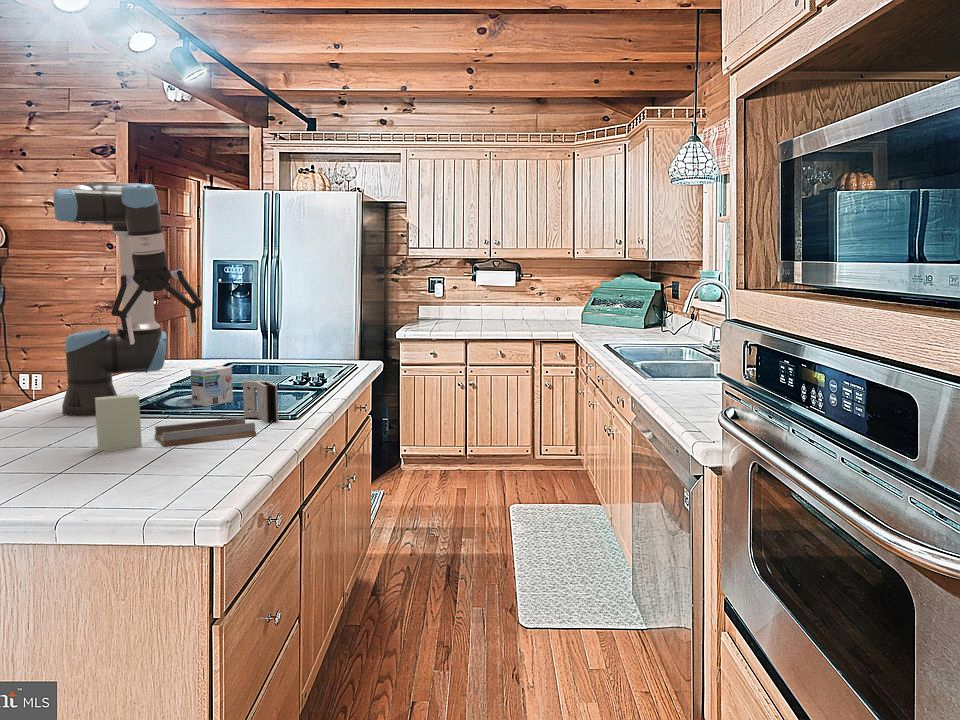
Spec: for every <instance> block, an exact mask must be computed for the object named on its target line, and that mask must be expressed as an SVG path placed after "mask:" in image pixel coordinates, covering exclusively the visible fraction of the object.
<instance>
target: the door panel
mask: <svg viewBox="0 0 960 720" xmlns="http://www.w3.org/2000/svg"><path fill="white" fill-rule="evenodd" d="M95 407H96V415H95V420H96V423H95V424H96V436H97V449H98V448H99V449H100V450H99V449H98V450H99V451H100V452H104V451H103V450H106V451H113V450H114V449H115V450H122V449H132V448H139V447H142V446H143V445H142V444H143V443H142V426H141V407H140V396H139V395H138V394H135V393H133V394H132V393H131V394H121V395H117V396H108V397H96V398H95ZM115 450H114V451H115Z"/></svg>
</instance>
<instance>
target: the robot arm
mask: <svg viewBox="0 0 960 720" xmlns="http://www.w3.org/2000/svg"><path fill="white" fill-rule="evenodd" d="M52 194H53V210H54V218H55V219H56V220H57V221H58V222H68V223H85V224H93V225H99V226H100V225H102V226H103V225H104V226H111V229H112V231H111V232H112V233H113V234H114V235H116V236H117V238H118V248H119V249H118V250H119V270H120V287H119V289H118V292H117V296H116V299H115V301H114V305H113V307H112V310H111V316H113V317H119V318H120V320H121V321H120V322H121V323H120V324H119V325H118V326H117V332H116V333H115V332H114V333H111V330H110V329H109V328H97V329H90V330H83V331H78V332H75V333H71V334H69V335H67V337H66V338H65V350H64V353H65V357H66V359H65V360H66V378H67V386H66V387H67V388H66V391H65V395H64V397H63V398H64V399H63V402H62V405H61V407H62V408H61V409H62V410H61V411H62V414H64V415H65V416H73V417H74V416H75V417H77V416H78V417H81V416H83V417H84V416H85V417H86V416H87V417H88V416H89V417H90V416H96V407H95V398H96V397H108V396H118V394H117V391H116V389H115V386H114V385H113V375H114V374H116V375H117V374H129V373H131V374H133V373H145V374H147V373H151V372H158V371H161V370H162V369H163V368H164V365H165V360H166V359H165V358H166V354H167V353H166V351H167V333H166V331H164V330H161V329H162V328H161V324H159V323H158V322H157V321H156V319H155V318H156V317H155V299H154V297H155V294H154V292H162V291H164V290H166V291H167V292H168V293H170V294H171V295H172V296H173V297H174V298H176V300H178V301H179V302H180V303H181V304H183V305H184V306H185V307H186V308H187V309H186V318H187V324H188V330H189V338H190V339H191V338H194V336H195V333H194V326H193V325H194V324H195V323H197V319H198V318H197V315H196V309H198V308H200V307H202V306H203V301H202V300H201V298H200V297H199V296H198V294H197V293H196V291H195V290H194V289H193V287H192V286H191V285H190V283H189V282H188V280H187V279H186V277H185V274H184V271H183V269H182V268H178V269H177V270H172V271H170V269H169V264H168V258H167V253H166V251H164V250H165V248H166V245H165V240H164V232H163V228H162V215H161V208H160V203H159V198H158V194H157V191H156V188H155V185H153V184H152V183H151V184H150V183H149V184H148V183H139V182H135V183H132V182H131V183H129V182H128V183H125V182H101V181H100V182H98V181H97V182H87V183H83V184H78V185H74V186H71V187H69V188H57V189H55V190H54V191H53V193H52ZM172 277H173V278H174V279H175V280H177V281H179V283H180V284H181V286H182V287H183V289H184V290H185V291H186V293H187V294H188V295H189V297H190V299H191V300H192V301H193V302H192V301H191V300H190V299H188V298H187V297H186V296H185V295H183V294H182V293H181V292H180V291H179V290H178V289H177V288H175V286H173V284H171V283H170V280H171V278H172ZM120 307H121V308H122V310H120Z"/></svg>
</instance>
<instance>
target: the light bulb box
mask: <svg viewBox="0 0 960 720" xmlns="http://www.w3.org/2000/svg"><path fill="white" fill-rule="evenodd" d="M190 386H191V391H190V393H191V405H196V406H200V407H201V406H202V407H210V406H214V405H215V406H216V405H217V406H218V405H221V404H227V403H233V402H234V401H233V399H234V398H233V397H234V396H233V395H234V394H233V367H230V366H223V365H214V366H207V367H206V366H205V367H199V368H192V369H190Z"/></svg>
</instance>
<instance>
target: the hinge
mask: <svg viewBox="0 0 960 720" xmlns="http://www.w3.org/2000/svg"><path fill="white" fill-rule="evenodd" d="M242 395H243V396H242V397H243V399H242V400H243V417H249V418H257V419H259V420H261V421H263V422H264V423H269V424H272V423H277V422H279V400H278V399H279V397H278V395H279V392H278V384H275V383H273V382H272V381H267V380H255V381H253V380H242ZM249 409H250V410H249Z"/></svg>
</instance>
